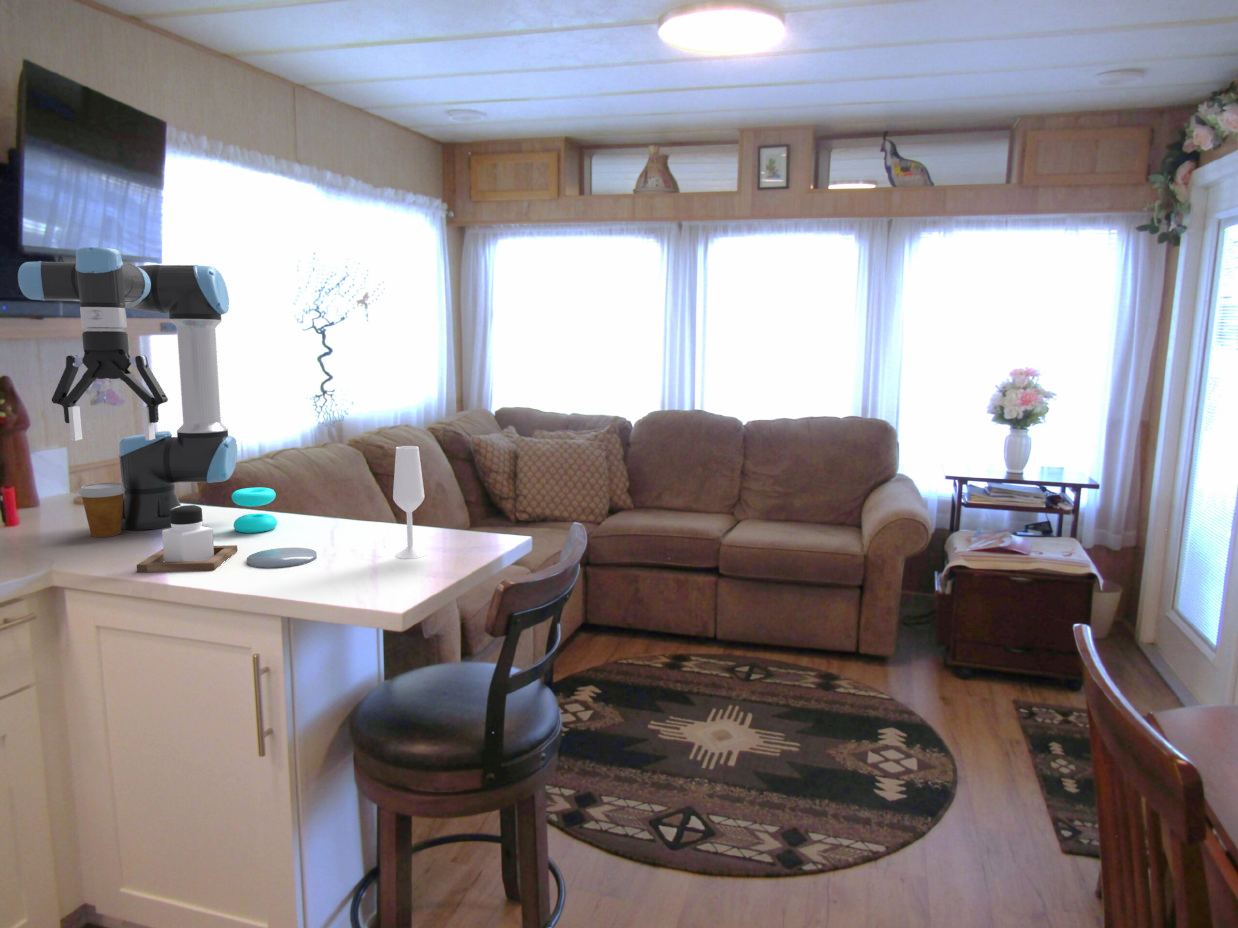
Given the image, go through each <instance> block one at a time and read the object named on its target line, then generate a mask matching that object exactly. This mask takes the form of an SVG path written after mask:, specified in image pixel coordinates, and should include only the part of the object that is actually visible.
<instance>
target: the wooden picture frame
mask: <svg viewBox="0 0 1238 928" xmlns="http://www.w3.org/2000/svg"><path fill="white" fill-rule="evenodd" d="M237 551H238V545H237V544H231V545H230V544H229V545H214V554H216V555H214V556H213V557H212V558H210V559H209V560H208V561H177V562H164V552H163V548H162V549H160V550H158V551H157V552H155V553H153V554H152V555H151V556H149V557H147V558H146V559H144V560H142V561H141V562H139V563H138V564H136V566H135V567H136V572H137V573H155V572H157V573H158V572H189V571H190V572H191V571H192V572H195V571H200V572H201V571H215V570H216V568H217V567H218V566H219V565H220V566H221V564H222V563H223V562H224V561H225V562H227V561H228V560H229V559H230V558H232V557H233V556H234V555H235V554H237V553H238V552H237ZM236 552H237V553H236ZM232 555H233V556H232ZM231 556H232V557H231ZM228 558H229V559H228ZM227 559H228V560H227ZM226 560H227V561H226ZM225 562H224V563H225ZM224 563H223V564H224ZM223 564H222V565H223ZM220 566H219V567H220ZM219 567H218V568H219ZM218 568H217V569H218Z"/></svg>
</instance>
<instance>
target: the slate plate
mask: <svg viewBox="0 0 1238 928" xmlns="http://www.w3.org/2000/svg"><path fill="white" fill-rule="evenodd" d="M317 555H318V554H317V551H316V550H314V549H311V548H307V547H306V548H305V547H280V548H279V547H278V548H270V549H266V550H261V551H257V552H255V553H252V554H249V555H248V556H247V557H246V563H248V564H249V566H250V565H252V566H251V567H254V566H256V567H255V568H260V567H281V568H288V567H287V566H290V567H295V566H294V565H297V566H301V565H304V563H305V564H308V563H310V561H311V562H313V561H315V560H316V559H317ZM307 562H308V563H307ZM248 564H247V565H248ZM300 564H301V565H300Z"/></svg>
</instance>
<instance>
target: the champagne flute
mask: <svg viewBox="0 0 1238 928" xmlns="http://www.w3.org/2000/svg"><path fill="white" fill-rule="evenodd" d="M394 457H395V461H394V475H393V476H394V477H393V493H392V499H393V502H394V503H395V504H396V506H397V507H399V508H400V509H401V510H402V511H403V512H406V536H407V539H406V540H407V541H406V543H407V546H406V547H405V548H403V549H402V550H400V551H399V552H397V553H396V554H394V556H395V557H396V558H397V559H403V560H409V559H410V560H413V559H419V558H422V557H425V556H426V555H427V554H426V552H424V551H423V550H421V549H419V548H417V547H416V546H414V534H413V512H415V510H417V508H419V507H420V506H421V505H422V503H423V501H424V500H425V491H424V490H425V489H424V481H423V474H422V464H421V456H420V449H419V446H416V445H415V446H414V445H403V446H396V447H395V456H394Z"/></svg>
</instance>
